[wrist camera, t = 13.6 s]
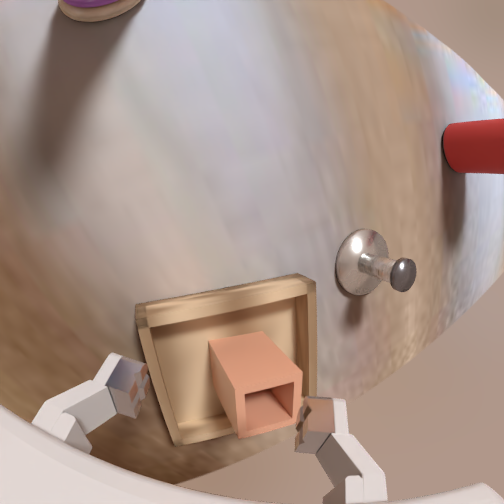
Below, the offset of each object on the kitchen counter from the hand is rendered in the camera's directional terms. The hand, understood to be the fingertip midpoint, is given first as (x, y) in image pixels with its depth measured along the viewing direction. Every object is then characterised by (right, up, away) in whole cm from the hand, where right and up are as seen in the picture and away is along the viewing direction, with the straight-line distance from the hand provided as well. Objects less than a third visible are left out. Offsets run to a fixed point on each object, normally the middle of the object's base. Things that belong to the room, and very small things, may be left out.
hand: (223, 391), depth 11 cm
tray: (-1, -4, +15) cm, 15 cm away
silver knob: (+12, +4, +18) cm, 22 cm away
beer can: (+27, +19, +21) cm, 39 cm away
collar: (0, -4, +14) cm, 15 cm away
